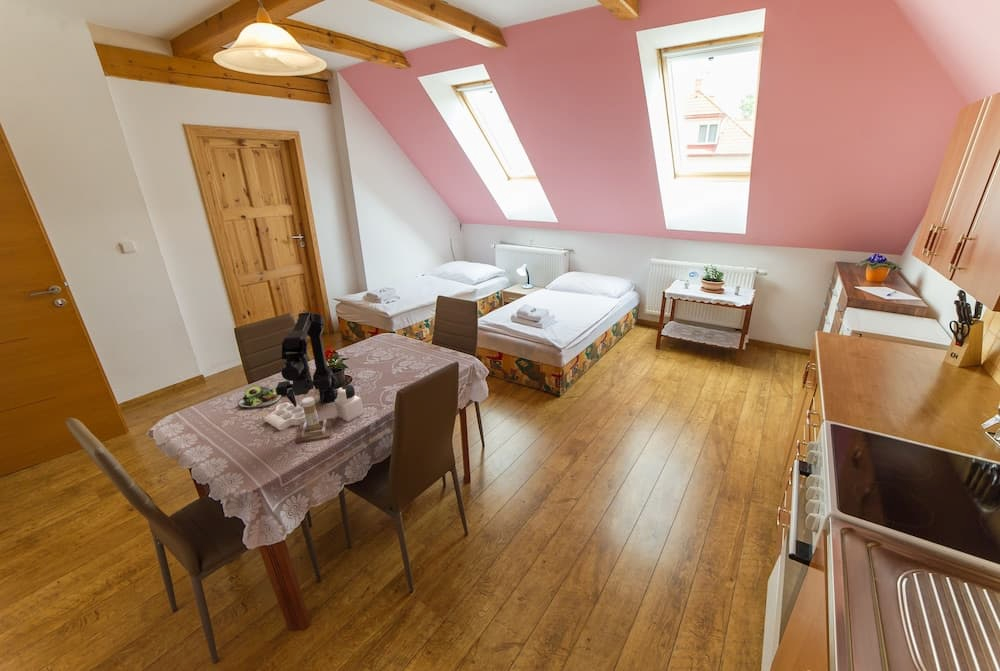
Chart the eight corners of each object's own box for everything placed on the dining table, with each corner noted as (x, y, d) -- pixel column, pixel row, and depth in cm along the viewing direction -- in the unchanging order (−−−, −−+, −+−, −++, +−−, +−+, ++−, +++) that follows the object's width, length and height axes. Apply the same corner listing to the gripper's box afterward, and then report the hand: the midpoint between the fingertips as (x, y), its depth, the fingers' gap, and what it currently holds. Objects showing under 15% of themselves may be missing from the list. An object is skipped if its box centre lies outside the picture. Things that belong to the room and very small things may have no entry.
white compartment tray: (260, 420, 175) (294, 404, 186) (284, 434, 165) (317, 417, 176) (258, 413, 174) (292, 398, 185) (282, 427, 164) (316, 410, 175)
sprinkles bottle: (317, 424, 169) (310, 395, 164) (322, 428, 166) (316, 399, 161) (306, 429, 166) (299, 400, 161) (311, 434, 163) (304, 404, 158)
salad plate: (294, 387, 201) (292, 378, 199) (281, 407, 185) (279, 397, 183) (251, 390, 199) (249, 382, 197) (235, 411, 182) (232, 402, 181)
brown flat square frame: (301, 424, 171) (300, 420, 170) (332, 419, 174) (331, 414, 173) (296, 443, 159) (294, 438, 158) (329, 437, 162) (328, 432, 161)
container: (353, 407, 182) (348, 381, 177) (363, 413, 177) (359, 386, 172) (337, 415, 176) (331, 388, 171) (347, 422, 172) (342, 394, 167)
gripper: (267, 381, 146) (278, 419, 152) (324, 374, 151) (332, 411, 157) (274, 368, 156) (284, 404, 162) (327, 361, 161) (335, 396, 167)
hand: (308, 404), depth 162 cm, fingers open, 9 cm apart
